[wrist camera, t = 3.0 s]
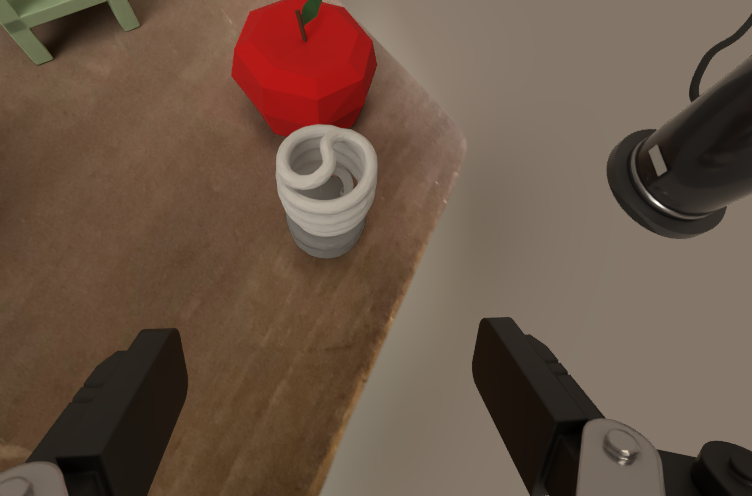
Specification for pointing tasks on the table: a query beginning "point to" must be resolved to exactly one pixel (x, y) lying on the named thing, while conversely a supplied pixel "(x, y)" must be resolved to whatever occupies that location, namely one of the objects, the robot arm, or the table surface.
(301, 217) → the light bulb
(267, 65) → the apple
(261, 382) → the table surface
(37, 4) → the green side table
